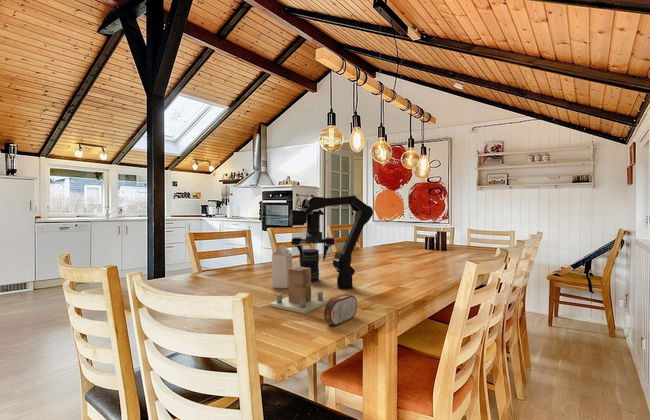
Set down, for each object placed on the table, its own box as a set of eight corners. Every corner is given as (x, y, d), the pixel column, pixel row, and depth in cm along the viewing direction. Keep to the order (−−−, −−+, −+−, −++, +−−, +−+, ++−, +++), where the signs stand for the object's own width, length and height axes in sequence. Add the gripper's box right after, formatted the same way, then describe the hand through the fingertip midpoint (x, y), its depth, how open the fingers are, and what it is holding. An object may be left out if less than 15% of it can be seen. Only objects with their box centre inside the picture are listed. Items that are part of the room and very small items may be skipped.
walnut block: (298, 298, 140) (298, 266, 140) (311, 300, 137) (310, 267, 136) (288, 302, 135) (288, 268, 135) (301, 304, 132) (301, 270, 131)
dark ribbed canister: (316, 282, 173) (316, 251, 173) (297, 282, 175) (296, 251, 175) (321, 278, 183) (321, 249, 182) (302, 278, 185) (302, 248, 184)
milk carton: (272, 287, 163) (271, 246, 163) (278, 284, 170) (278, 244, 170) (286, 288, 161) (286, 246, 161) (292, 285, 168) (292, 244, 168)
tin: (351, 315, 123) (351, 290, 123) (358, 317, 121) (358, 292, 121) (323, 327, 111) (322, 299, 111) (331, 329, 109) (330, 301, 109)
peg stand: (296, 296, 147) (296, 286, 147) (329, 302, 138) (329, 291, 138) (269, 306, 134) (269, 295, 134) (304, 313, 125) (304, 301, 125)
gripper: (289, 226, 151) (289, 263, 151) (333, 226, 149) (333, 263, 150) (293, 224, 162) (293, 259, 162) (334, 224, 161) (334, 259, 161)
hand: (313, 260), depth 158 cm, fingers open, 9 cm apart
